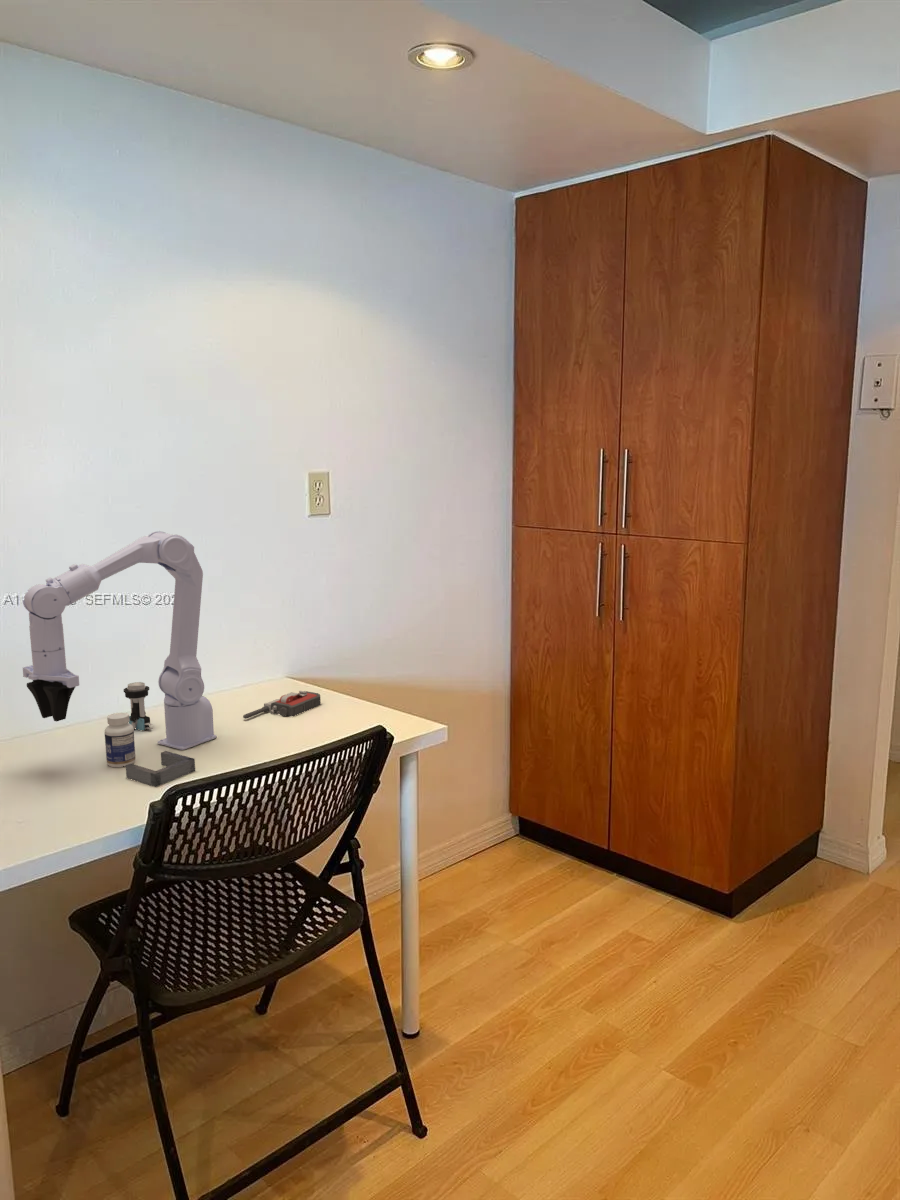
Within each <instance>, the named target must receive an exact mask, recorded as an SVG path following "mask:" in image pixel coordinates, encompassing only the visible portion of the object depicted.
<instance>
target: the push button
mask: <svg viewBox="0 0 900 1200" xmlns="http://www.w3.org/2000/svg"><path fill="white" fill-rule="evenodd" d="M149 691H150V687H149V686H147V685H146V683H145V682H142V681H138V682H131V683H128V684H127V686H126V687H125V688H123V693H124V697H125V698H127V699H129V700H130V715H129V719H130V720H129V722H128V723H129V724H131V725H132V726H133V728H134V729H135V728H136V729H135V730H137V729H139V730H138V731H140V730H144V731H146V730H145V729H147V730H153V727H151V726H152V725H153V724H152V723H151V718H150V716H147V715H146V714H147V713H146V710H145V709H146V708H145V698H146V697H148V696H149Z"/></svg>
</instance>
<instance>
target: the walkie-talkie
mask: <svg viewBox="0 0 900 1200" xmlns="http://www.w3.org/2000/svg"><path fill="white" fill-rule="evenodd" d="M319 705H320V706H321V705H322V704H321V694H320V693H318V692H312V691H306V690H304V691H303V690H298V692H294V691H293V692H288V693H287V694H284V695H281V696H280V697H279V698H278V699H273V700H271V701H269V702H268V701H267V702H265V703H263V706H262V707H261V708H258V709H255V710H252V711H251V712H248V713H245V714H243V716H242V718H243V719H245V720H246V719H249V718H252V717H254V716H255V717H256V716H257V715H259V714H262V713H270V714H271V715H278V714H280V715H279V716H281V717H289V716H293V717H295V715H296V716H298V715H300V714H299V713H301V714H303V713H305V712H307V710H308V711H310V710H312V709H315V708H317V707H320V706H319ZM314 707H315V708H314ZM311 708H312V709H311ZM309 709H310V710H309ZM304 711H305V712H304ZM302 712H303V713H302ZM297 714H298V715H297Z"/></svg>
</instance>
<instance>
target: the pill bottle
mask: <svg viewBox="0 0 900 1200" xmlns="http://www.w3.org/2000/svg"><path fill="white" fill-rule="evenodd" d="M129 716H130V714H129V713H128V712H116V713H115V712H113V713H111V714H109V715H107V719H106V720H107V724H108V725H107V726H106V727H105V728H104V740H105V741H104V743H105V754H106V757H105V759H106V765H107V766H108V767H112V768H123V766H124V767H126V765H128V764H134V763H136V746H135V743H136V742H135V730H134V728H133V726H132V725H131V724H129V720H130V719H129Z"/></svg>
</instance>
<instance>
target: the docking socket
mask: <svg viewBox="0 0 900 1200" xmlns="http://www.w3.org/2000/svg"><path fill="white" fill-rule="evenodd" d="M160 764H161V766H165V767H162V768H159V769H157V770H154V769H151V768H147V767H143V766H140V765H137V764H134V763H133V764H128V765H126V766H125V775H126V776H125V778H126V779H127V778H128V779H127V780H131V779H132V780H131V781H134V780H135V782H137V781H138V783H141V784H144V785H148V786H150V787H151V786H152V787H155V788H157V787H160V786H162V785H165V784H166V783H169V782H172V781H174V780H177V779H178V778H179V779H180V778H181V777H184V776H187V775H190V774H192V773H194V772H196V759H195V758H193V757H190V756H185V755H183V754H179V753H175V752H171V751H168V750H163V751H162V752H160Z"/></svg>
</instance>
